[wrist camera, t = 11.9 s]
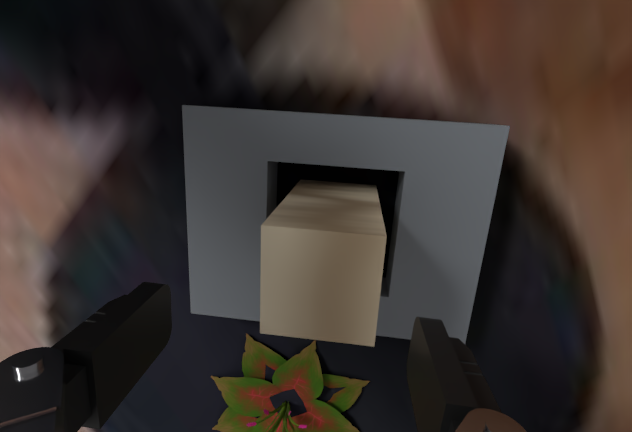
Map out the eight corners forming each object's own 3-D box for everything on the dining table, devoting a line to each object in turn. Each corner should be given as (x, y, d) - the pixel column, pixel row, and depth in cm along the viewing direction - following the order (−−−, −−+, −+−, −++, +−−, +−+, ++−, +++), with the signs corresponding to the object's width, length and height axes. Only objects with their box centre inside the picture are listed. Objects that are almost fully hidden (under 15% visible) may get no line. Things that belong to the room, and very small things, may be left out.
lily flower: (235, 301, 25) (208, 342, 20) (399, 365, 25) (407, 420, 20) (192, 428, 28) (162, 485, 24) (335, 484, 28) (331, 552, 24)
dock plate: (207, 293, 24) (190, 313, 22) (202, 105, 21) (182, 105, 18) (453, 321, 23) (464, 345, 20) (491, 124, 19) (509, 125, 17)
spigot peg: (298, 249, 23) (259, 333, 14) (300, 179, 21) (260, 225, 13) (368, 255, 22) (374, 346, 14) (376, 185, 21) (386, 236, 12)
